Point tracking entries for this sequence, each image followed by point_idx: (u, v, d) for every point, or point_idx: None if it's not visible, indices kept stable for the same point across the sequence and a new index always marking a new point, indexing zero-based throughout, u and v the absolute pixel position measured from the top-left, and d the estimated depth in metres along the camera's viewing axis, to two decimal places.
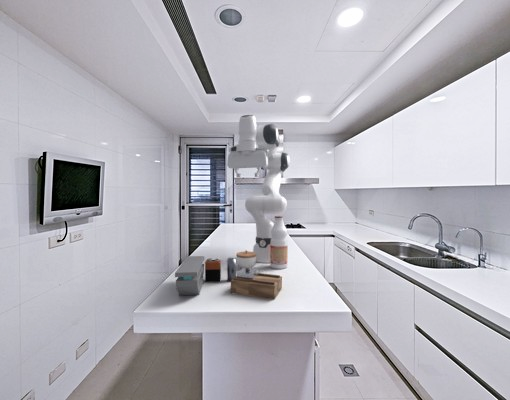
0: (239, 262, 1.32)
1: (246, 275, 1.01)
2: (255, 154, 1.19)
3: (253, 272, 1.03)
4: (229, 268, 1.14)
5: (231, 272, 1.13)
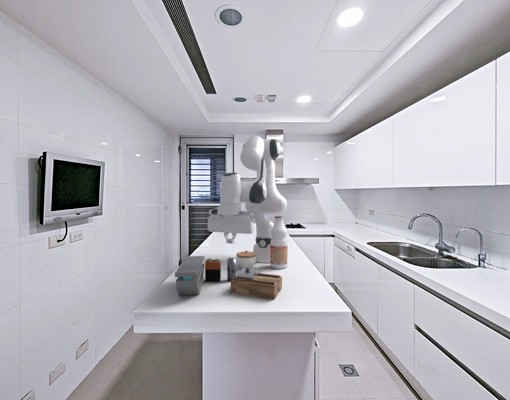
0: (239, 262, 1.32)
1: (246, 275, 1.01)
2: (239, 218, 1.03)
3: (253, 272, 1.03)
4: (229, 268, 1.14)
5: (231, 272, 1.13)
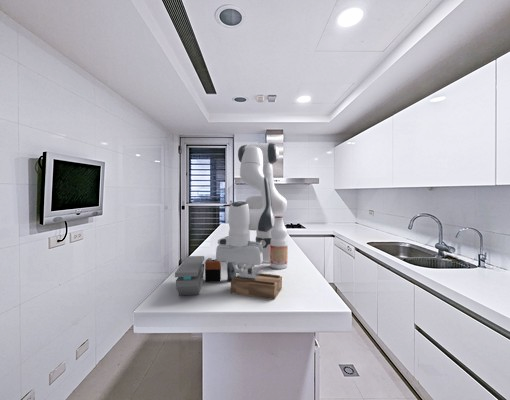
0: None
1: (248, 275, 1.00)
2: (248, 249, 1.02)
3: (255, 272, 1.02)
4: (229, 268, 1.14)
5: (231, 272, 1.13)
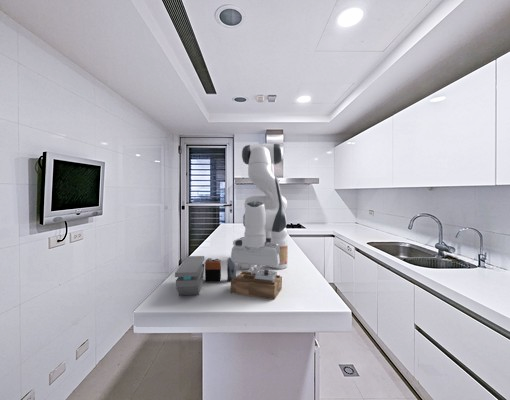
0: None
1: (265, 277, 0.98)
2: (265, 251, 1.00)
3: (272, 274, 1.00)
4: (229, 268, 1.14)
5: (231, 272, 1.13)
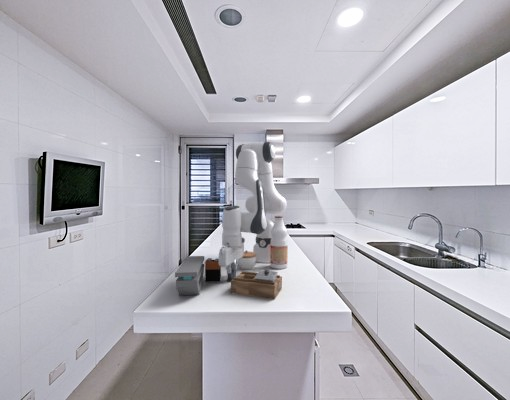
0: (239, 262, 1.32)
1: (266, 277, 0.98)
2: None
3: (273, 274, 1.00)
4: None
5: (231, 272, 1.13)
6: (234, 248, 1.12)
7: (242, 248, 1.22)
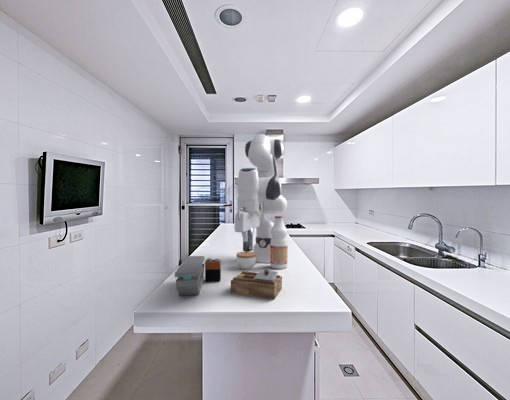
0: (239, 262, 1.32)
1: (266, 277, 0.98)
2: None
3: (273, 274, 1.00)
4: None
5: None
6: (251, 214, 1.01)
7: (258, 217, 1.11)
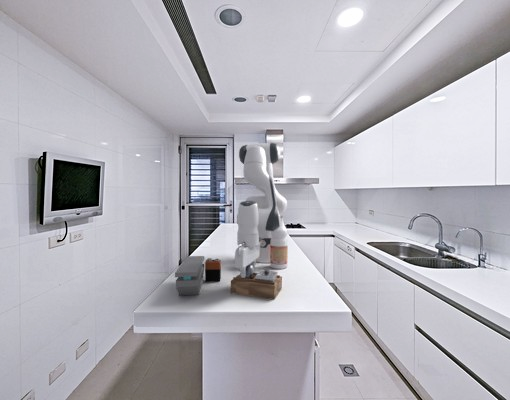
0: None
1: (266, 277, 0.98)
2: None
3: (273, 274, 1.00)
4: None
5: None
6: (251, 248, 1.01)
7: (258, 248, 1.11)
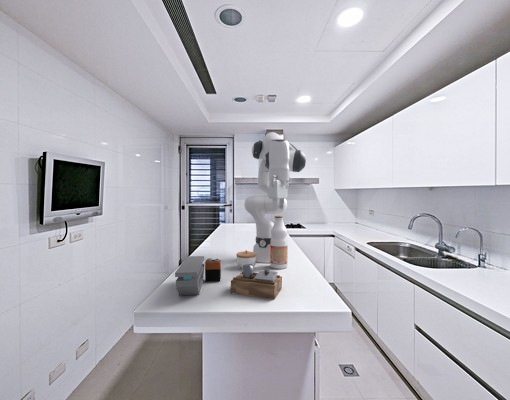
0: (239, 262, 1.32)
1: (266, 277, 0.98)
2: None
3: (273, 274, 1.00)
4: (245, 276, 1.03)
5: None
6: (283, 182, 1.05)
7: (287, 188, 1.14)
